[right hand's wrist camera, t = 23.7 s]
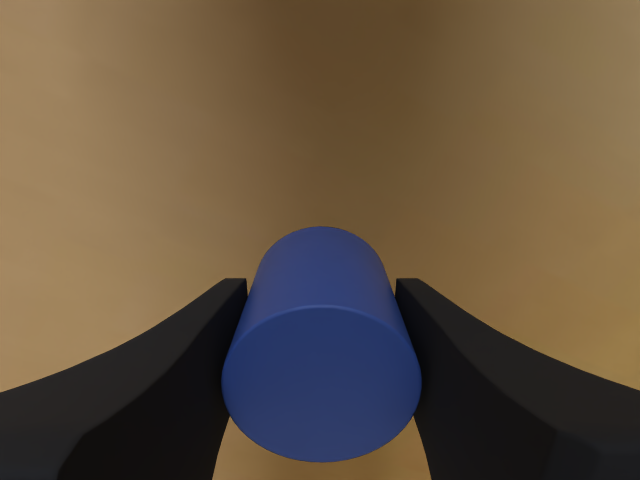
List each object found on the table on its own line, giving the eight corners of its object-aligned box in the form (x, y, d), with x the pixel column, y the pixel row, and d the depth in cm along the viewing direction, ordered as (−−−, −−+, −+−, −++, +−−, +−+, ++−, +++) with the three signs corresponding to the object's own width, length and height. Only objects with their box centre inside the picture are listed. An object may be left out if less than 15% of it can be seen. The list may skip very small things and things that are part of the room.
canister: (412, 263, 12) (464, 361, 8) (344, 359, 13) (356, 486, 9) (292, 201, 11) (275, 269, 7) (234, 309, 13) (190, 422, 8)
